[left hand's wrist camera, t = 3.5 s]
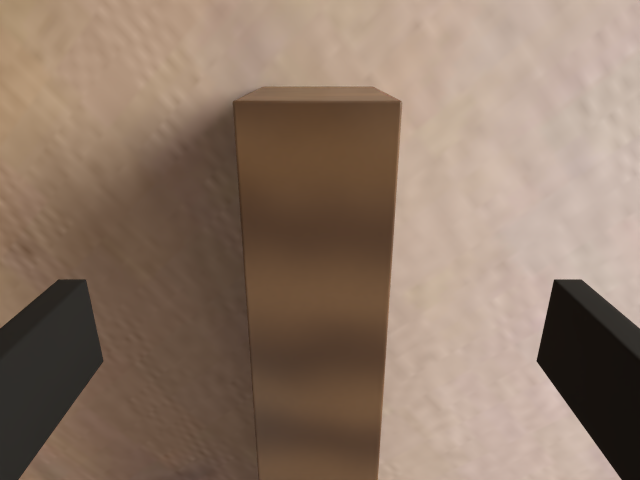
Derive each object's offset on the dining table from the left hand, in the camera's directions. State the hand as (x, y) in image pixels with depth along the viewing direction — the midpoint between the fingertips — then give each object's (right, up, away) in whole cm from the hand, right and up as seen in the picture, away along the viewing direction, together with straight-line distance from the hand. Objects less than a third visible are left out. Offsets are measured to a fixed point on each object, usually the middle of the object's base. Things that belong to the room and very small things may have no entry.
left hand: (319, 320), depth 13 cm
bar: (0, -19, +21) cm, 28 cm away
